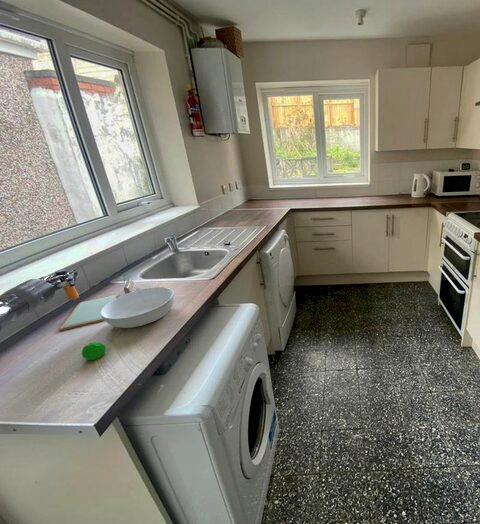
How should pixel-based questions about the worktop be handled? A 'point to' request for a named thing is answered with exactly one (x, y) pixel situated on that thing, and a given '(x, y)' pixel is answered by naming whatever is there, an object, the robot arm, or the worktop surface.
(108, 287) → the worktop surface
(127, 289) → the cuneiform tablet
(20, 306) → the robot arm
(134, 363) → the worktop surface
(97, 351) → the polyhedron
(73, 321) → the pale green board
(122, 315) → the serving bowl
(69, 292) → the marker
